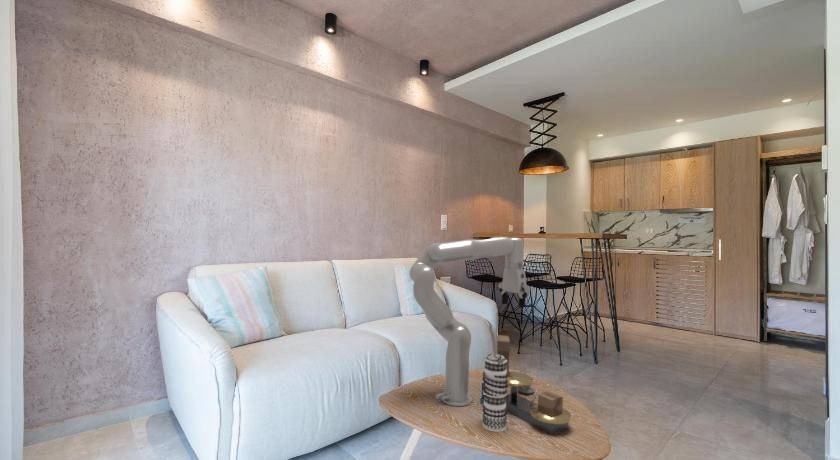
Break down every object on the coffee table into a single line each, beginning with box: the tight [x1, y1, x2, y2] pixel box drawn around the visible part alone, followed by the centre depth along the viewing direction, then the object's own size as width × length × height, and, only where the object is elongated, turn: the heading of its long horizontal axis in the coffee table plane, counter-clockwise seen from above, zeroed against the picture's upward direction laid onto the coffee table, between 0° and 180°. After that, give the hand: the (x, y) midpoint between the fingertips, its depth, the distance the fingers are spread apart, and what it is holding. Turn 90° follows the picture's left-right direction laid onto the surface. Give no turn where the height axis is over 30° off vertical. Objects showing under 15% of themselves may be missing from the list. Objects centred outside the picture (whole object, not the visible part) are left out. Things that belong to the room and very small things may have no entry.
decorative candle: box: [482, 353, 509, 433], centre depth 137 cm, size 9×9×25 cm
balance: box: [506, 370, 572, 436], centre depth 145 cm, size 14×31×12 cm, turn 34°
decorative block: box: [496, 334, 511, 372], centre depth 181 cm, size 11×6×20 cm, turn 170°
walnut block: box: [537, 390, 564, 418], centre depth 137 cm, size 6×6×6 cm
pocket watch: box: [517, 370, 535, 395], centre depth 168 cm, size 8×8×10 cm
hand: (513, 305), depth 165 cm, fingers open, 9 cm apart
